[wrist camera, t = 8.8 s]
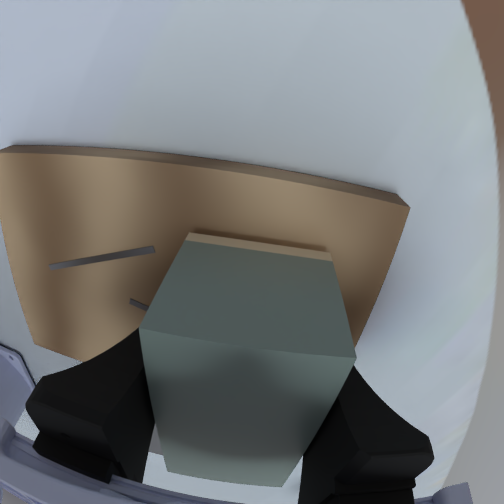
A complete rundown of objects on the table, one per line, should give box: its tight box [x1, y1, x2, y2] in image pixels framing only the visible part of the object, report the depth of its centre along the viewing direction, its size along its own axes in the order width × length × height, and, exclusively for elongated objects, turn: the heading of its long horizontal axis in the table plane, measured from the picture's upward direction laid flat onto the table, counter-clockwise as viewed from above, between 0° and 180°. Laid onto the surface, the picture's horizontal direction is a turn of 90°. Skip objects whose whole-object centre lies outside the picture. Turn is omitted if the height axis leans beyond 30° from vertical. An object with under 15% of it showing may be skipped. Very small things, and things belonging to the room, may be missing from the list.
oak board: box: [0, 145, 410, 362], centre depth 14 cm, size 18×12×2 cm, turn 82°
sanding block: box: [139, 232, 357, 487], centre depth 11 cm, size 5×9×5 cm, turn 173°
